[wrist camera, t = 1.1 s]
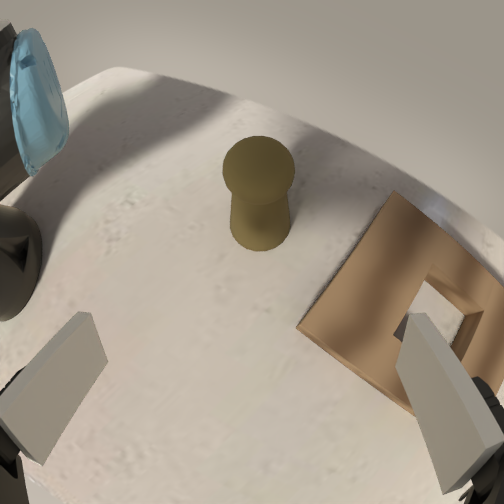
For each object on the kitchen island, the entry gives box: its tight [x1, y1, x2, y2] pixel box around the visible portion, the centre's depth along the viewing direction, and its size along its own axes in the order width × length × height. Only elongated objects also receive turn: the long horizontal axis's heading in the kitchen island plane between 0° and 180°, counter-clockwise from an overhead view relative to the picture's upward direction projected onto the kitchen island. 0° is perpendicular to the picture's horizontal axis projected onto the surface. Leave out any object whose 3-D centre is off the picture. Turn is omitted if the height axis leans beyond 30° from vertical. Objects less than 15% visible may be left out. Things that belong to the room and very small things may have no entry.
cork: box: [223, 136, 295, 251], centre depth 25 cm, size 6×6×11 cm
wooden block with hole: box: [296, 191, 504, 417], centre depth 24 cm, size 22×16×4 cm
